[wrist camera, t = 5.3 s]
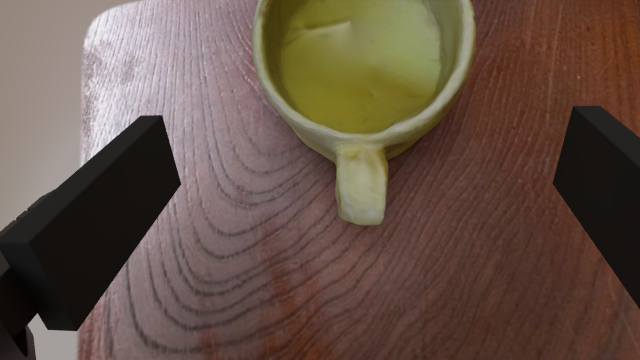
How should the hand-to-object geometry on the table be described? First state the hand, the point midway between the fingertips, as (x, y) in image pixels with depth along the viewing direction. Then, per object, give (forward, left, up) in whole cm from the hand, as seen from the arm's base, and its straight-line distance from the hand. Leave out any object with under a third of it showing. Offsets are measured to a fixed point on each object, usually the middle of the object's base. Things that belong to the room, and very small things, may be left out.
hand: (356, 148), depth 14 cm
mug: (-2, +4, -10) cm, 11 cm away
